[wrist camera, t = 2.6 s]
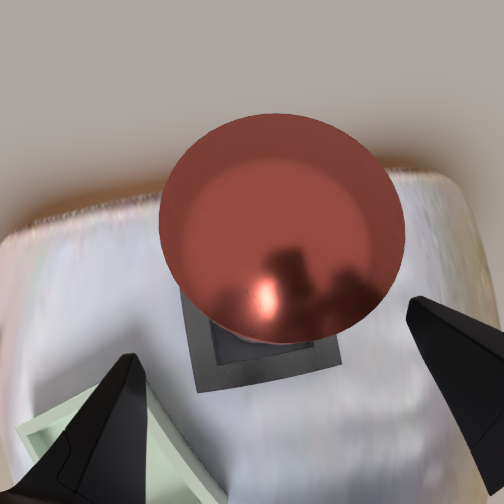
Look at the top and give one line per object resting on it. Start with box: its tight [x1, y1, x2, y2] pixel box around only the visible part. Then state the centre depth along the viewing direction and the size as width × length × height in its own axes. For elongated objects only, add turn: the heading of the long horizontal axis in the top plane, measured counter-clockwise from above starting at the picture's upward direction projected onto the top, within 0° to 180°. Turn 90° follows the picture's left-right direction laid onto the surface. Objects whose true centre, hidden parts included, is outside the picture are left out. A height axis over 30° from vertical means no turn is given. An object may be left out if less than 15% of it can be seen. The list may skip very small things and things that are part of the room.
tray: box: [15, 381, 228, 504], centre depth 15 cm, size 11×11×2 cm
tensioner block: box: [180, 288, 342, 393], centre depth 19 cm, size 8×8×2 cm
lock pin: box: [159, 114, 405, 344], centre depth 13 cm, size 5×5×15 cm
